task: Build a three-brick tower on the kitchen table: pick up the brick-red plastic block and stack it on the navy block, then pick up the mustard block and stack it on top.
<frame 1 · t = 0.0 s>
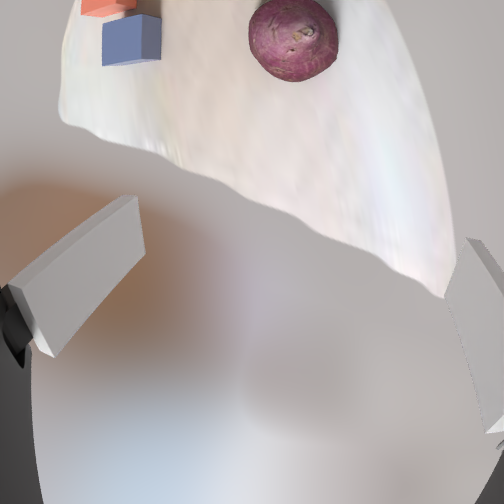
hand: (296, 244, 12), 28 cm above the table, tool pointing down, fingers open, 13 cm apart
vegetable: (294, 40, 30), on the table
navy brick: (142, 42, 33), on the table
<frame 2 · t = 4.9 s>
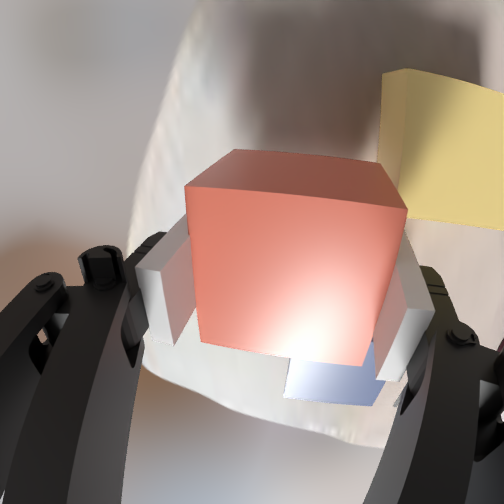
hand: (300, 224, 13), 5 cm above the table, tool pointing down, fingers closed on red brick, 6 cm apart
navy brick: (338, 320, 21), on the table
red brick: (302, 221, 14), point 4 cm above the table, touching gripper
mustard brick: (430, 136, 14), on the table
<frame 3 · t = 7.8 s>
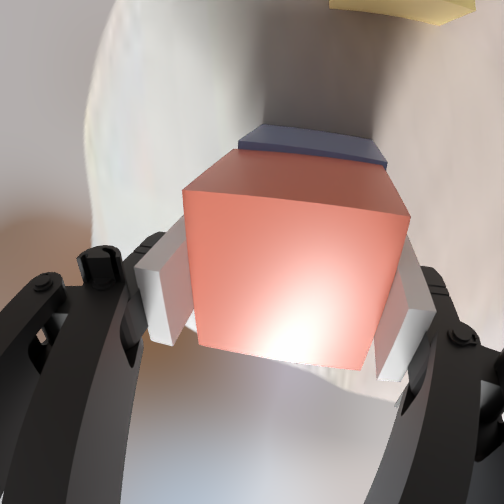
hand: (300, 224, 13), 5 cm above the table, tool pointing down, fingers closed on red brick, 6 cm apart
navy brick: (311, 181, 18), on the table, touching gripper, red brick
red brick: (301, 223, 13), point 5 cm above the table, touching gripper, navy brick
when the fingers open (5 cm above the table, at t = 7.9 s): red brick moves 1 cm, resting on navy brick.
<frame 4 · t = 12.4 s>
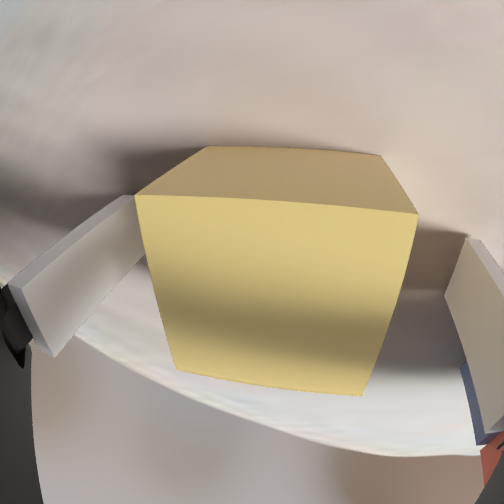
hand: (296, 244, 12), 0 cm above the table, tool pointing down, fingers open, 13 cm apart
mustard brick: (290, 226, 12), on the table
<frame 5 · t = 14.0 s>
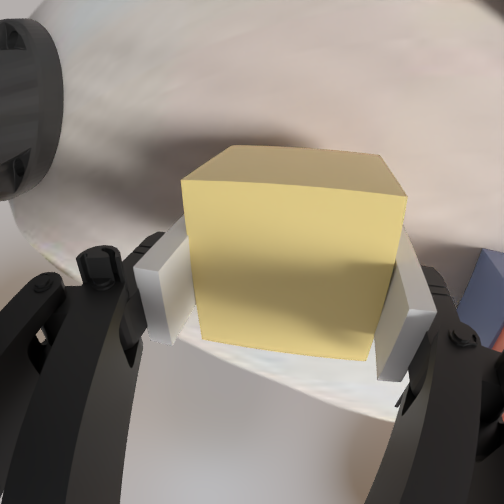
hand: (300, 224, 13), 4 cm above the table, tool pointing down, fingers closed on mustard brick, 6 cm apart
navy brick: (499, 295, 16), on the table, touching red brick
mustard brick: (302, 216, 14), point 3 cm above the table, touching gripper
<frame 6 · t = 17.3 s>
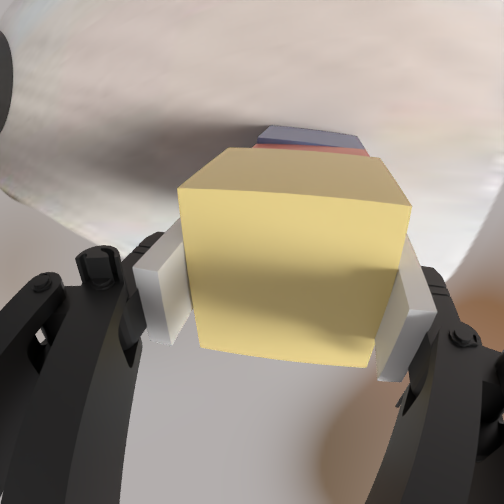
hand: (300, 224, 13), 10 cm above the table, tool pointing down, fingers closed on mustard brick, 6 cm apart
navy brick: (309, 170, 22), on the table, touching red brick
red brick: (309, 196, 18), point 5 cm above the table, touching gripper, mustard brick, navy brick
mustard brick: (300, 220, 13), point 10 cm above the table, touching gripper, red brick
when the fingers open (9 cm above the table, at t = 18.0 s): mustard brick stays where it is, resting on red brick.
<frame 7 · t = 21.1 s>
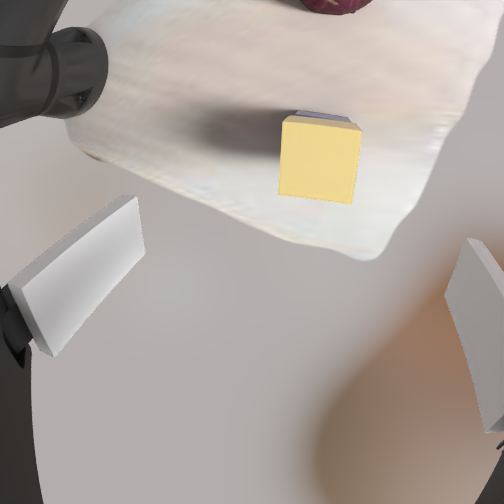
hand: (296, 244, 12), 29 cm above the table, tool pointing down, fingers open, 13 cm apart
navy brick: (320, 137, 36), on the table, touching red brick
mustard brick: (320, 150, 28), point 10 cm above the table, touching red brick
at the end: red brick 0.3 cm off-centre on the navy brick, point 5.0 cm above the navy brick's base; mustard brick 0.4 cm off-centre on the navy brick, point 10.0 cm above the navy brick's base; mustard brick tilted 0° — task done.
